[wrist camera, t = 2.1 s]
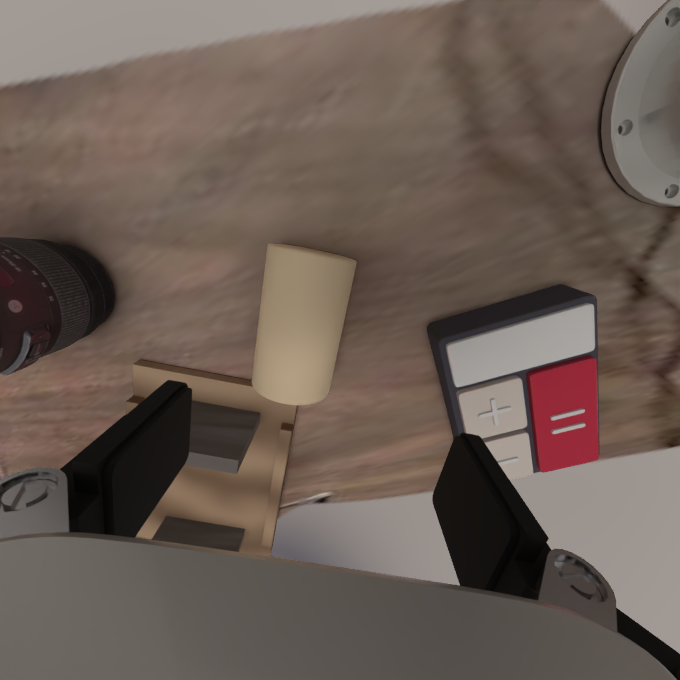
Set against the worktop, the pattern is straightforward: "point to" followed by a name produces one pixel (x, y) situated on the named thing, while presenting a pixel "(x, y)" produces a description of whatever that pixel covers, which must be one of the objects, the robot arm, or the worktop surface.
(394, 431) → the worktop surface
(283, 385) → the beige cylinder
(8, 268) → the camera lens
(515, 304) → the calculator
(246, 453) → the roll holder
